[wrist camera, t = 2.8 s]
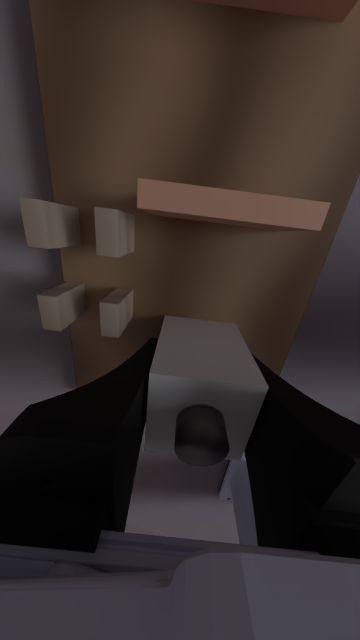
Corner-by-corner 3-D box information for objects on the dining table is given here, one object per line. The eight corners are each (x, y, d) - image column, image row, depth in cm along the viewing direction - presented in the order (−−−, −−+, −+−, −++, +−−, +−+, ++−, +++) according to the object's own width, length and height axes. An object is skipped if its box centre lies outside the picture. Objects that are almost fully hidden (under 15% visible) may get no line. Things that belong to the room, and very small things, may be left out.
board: (408, -22, 7) (638, -285, 3) (253, 406, 16) (273, 459, 12) (44, -75, 7) (-115, -417, 3) (88, 387, 15) (58, 436, 12)
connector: (235, 323, 11) (281, 411, 6) (221, 379, 13) (246, 489, 7) (164, 315, 11) (143, 396, 6) (159, 372, 13) (138, 478, 7)
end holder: (353, -16, 6) (482, -208, 4) (280, 231, 9) (320, 230, 6) (165, -45, 6) (147, -261, 3) (152, 214, 9) (137, 207, 6)
